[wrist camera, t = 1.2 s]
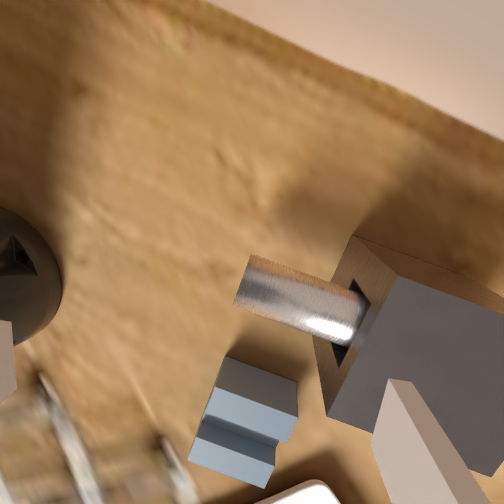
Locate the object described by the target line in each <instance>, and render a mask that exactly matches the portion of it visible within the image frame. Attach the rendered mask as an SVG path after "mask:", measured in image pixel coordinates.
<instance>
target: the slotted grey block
mask: <svg viewBox="0 0 504 504" xmlns="http://www.w3.org/2000/svg"><path fill="white" fill-rule="evenodd" d="M330 283H333V284H336V285H339V286H341V287H344V288H347V289H350V290H352V291H355V292H358V293H360V294H363V295H365V296H366V297H367V299H368V300H369V302H370V303H371V305H370V307H369V309H368V311H367V313H366V315H365V317H364V319H363V321H362V323H361V325H360V327H359V329H358V331H357V333H356V335H355V337H354V339H353V341H352V343H351V345H350V347H349V348H347V347H344V346H342V345H339V344H336V343H333V342H331V341H328V340H325V339H323V338H320V337H317V336H315V335H312V338H313V343H314V349H315V354H316V360H317V366H318V371H319V377H320V382H321V388H322V394H323V399H324V405H325V411H326V416H327V417H330V418H333V419H335V420H338V421H341V422H343V423H346V424H349V425H351V426H354V427H357V428H360V429H362V430H365V431H368V432H370V433H373V432H374V429H375V425H376V422H377V418H378V415H379V411H380V407H381V404H382V400H383V397H384V393H385V390H386V386H387V382H388V379H396V380H403V381H409V382H412V383H413V385H414V386H415V388H416V389H417V391H418V392H419V394H420V396H421V397H422V399H423V400H424V402H425V403H426V405H427V406H428V408H429V409H430V411H431V412H432V414H433V415H434V417H435V418H436V420H437V422H438V423H439V425H440V426H441V428H442V429H443V431H444V432H445V434H446V435H447V437H448V438H449V440H450V441H451V443H452V445H453V446H454V448H455V449H456V451H457V452H458V454H459V455H460V457H461V458H462V460H463V461H464V463H465V464H466V466H467V467H468V469H470V470H473V471H475V472H478V473H481V474H483V475H486V476H489V477H492V476H493V474H494V473H495V472H496V470H497V469H498V468H499V466H500V465H501V463H502V462H503V461H504V298H503V297H501V296H499V295H498V294H496V293H494V292H492V291H491V290H489V289H487V288H485V287H483V286H482V285H480V284H478V283H476V282H474V281H473V280H471V279H469V278H467V277H466V276H463V275H460V274H458V273H455V272H452V271H450V270H447V269H444V268H441V267H439V266H436V265H433V264H430V263H428V262H425V261H422V260H419V259H417V258H414V257H411V256H409V255H406V254H403V253H400V252H398V251H395V250H392V249H389V248H387V247H384V246H381V245H378V244H376V243H373V242H370V241H368V240H365V239H362V238H359V237H357V236H354V235H352V236H351V238H350V240H349V242H348V245H347V247H346V249H345V251H344V253H343V256H342V258H341V260H340V262H339V265H338V267H337V269H336V271H335V273H334V276H333V278H332V280H331V282H330Z"/></svg>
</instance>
